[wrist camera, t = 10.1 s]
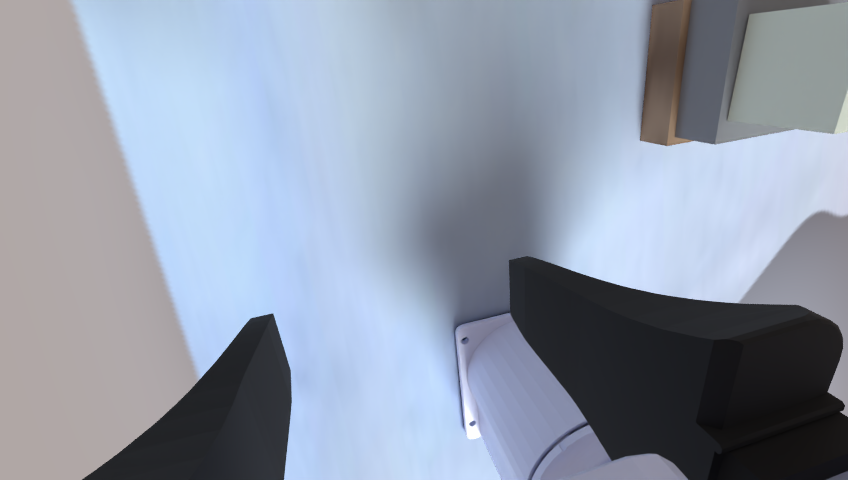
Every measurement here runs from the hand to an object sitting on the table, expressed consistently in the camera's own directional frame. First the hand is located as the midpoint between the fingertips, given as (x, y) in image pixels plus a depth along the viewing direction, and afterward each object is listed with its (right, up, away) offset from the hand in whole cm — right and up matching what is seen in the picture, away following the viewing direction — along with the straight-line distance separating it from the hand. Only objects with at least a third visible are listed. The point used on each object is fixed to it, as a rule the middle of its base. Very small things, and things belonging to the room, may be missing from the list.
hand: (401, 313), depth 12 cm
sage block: (+17, +10, +7) cm, 21 cm away
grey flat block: (+17, +11, +9) cm, 23 cm away
